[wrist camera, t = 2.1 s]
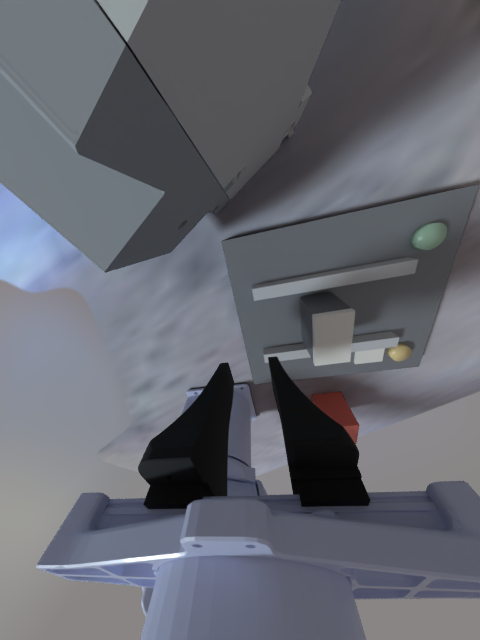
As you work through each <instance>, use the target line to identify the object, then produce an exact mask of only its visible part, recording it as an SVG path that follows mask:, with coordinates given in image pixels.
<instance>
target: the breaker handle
mask: <svg viewBox="0 0 480 640" xmlns="http://www.w3.org/2000/svg"><path fill="white" fill-rule="evenodd" d="M300 315H301V334H302V340H303V342H304V344H305V346H306V349H307V351H308V353H309V355H310V357H311V359H312V361H313V363H314V365H315V366H320V365H328V364H337V363H346V362H350V359H351V349H352V340H353V330H354V320H355V310H354V309H352V308H351V307H350V306H348V305H347V304H346V303H345V302H343V301H342V300H341V299H339V298H338V297H337V296H336V295H334V294H333V293H332V292H327V293H321V294H316V295H310V296H304V297H300Z"/></svg>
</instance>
